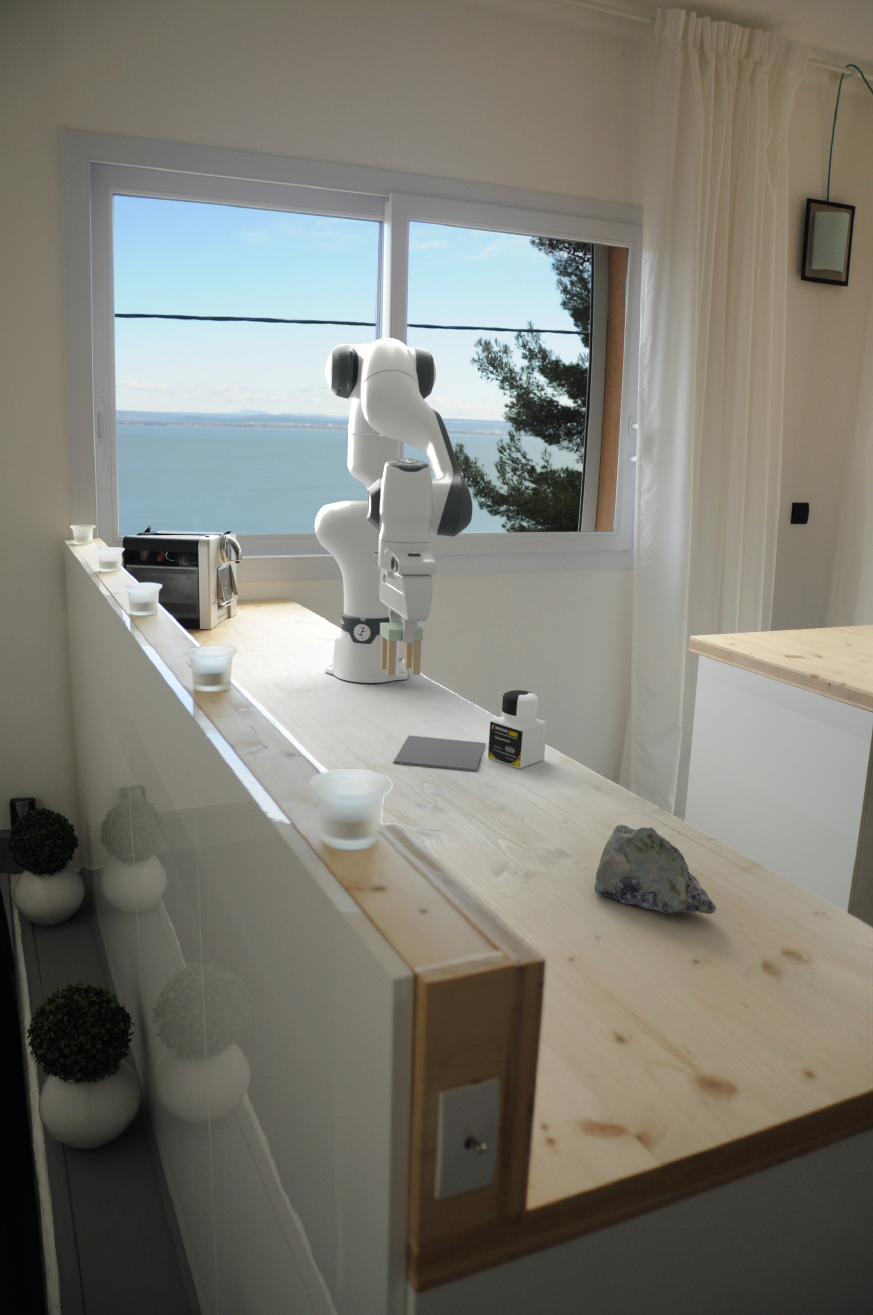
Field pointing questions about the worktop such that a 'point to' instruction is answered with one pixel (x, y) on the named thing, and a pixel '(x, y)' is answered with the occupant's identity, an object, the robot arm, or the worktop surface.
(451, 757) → the mat
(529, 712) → the medicine bottle
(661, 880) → the mineral rock
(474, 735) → the worktop surface
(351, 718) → the worktop surface
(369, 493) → the robot arm
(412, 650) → the stool
